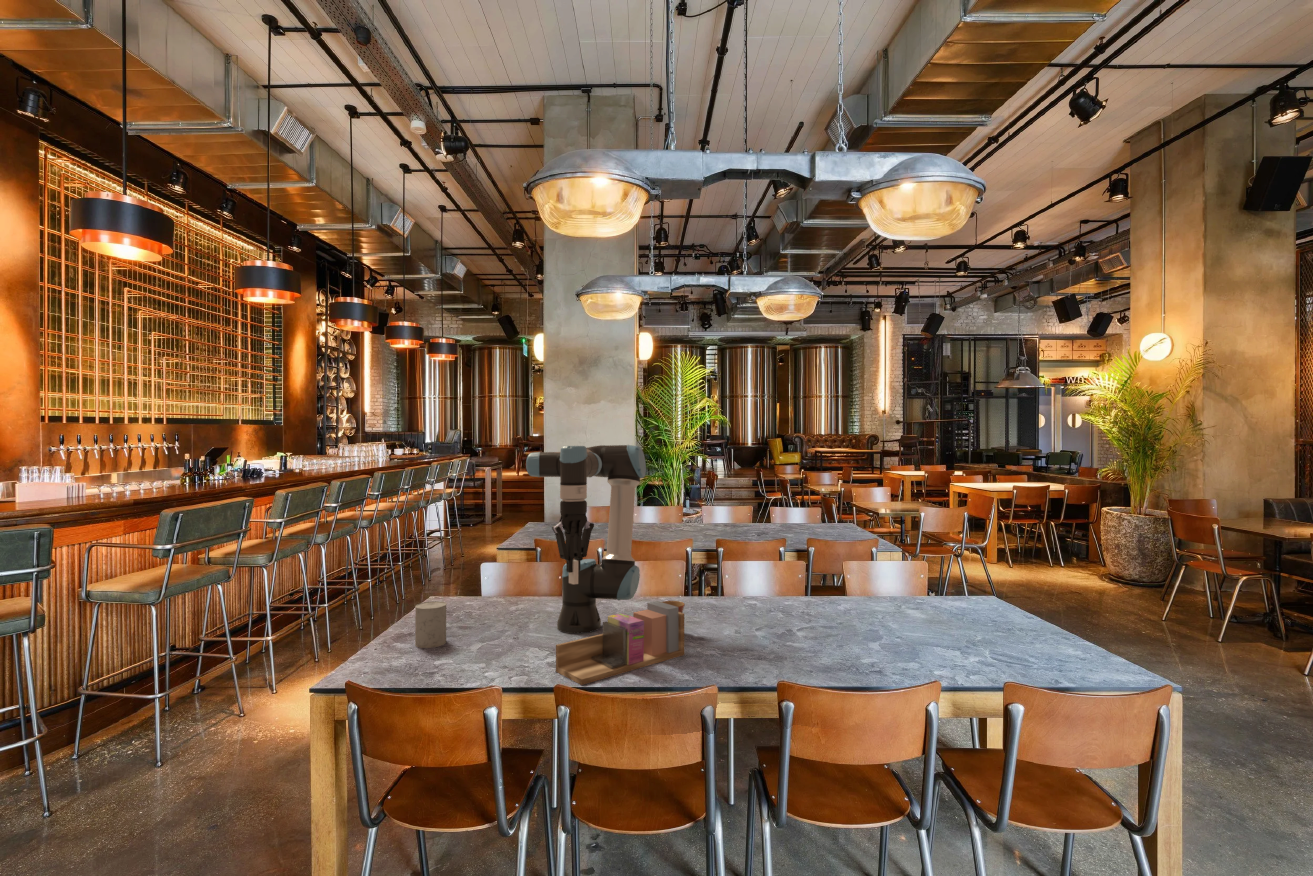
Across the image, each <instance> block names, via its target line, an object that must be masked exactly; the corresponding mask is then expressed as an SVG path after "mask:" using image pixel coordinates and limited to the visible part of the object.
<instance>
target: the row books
mask: <svg viewBox="0 0 1313 876" xmlns="http://www.w3.org/2000/svg"><path fill="white" fill-rule="evenodd" d="M646 606H647V607H646V608H647V609H643V610H639V611H634V612H632V614H633V615H632V617H635V618H638V619H640V620H643V621H644V653H645V654H648V655H650V656H655V655H658V654H662V653H666V652H667V653H671V652H674V651H678V650H679V624H678V607H676V606H673V605H669V604H666V603H663V601H659V600H655V601H650V602H647V604H646Z"/></svg>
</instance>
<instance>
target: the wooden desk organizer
mask: <svg viewBox="0 0 1313 876" xmlns="http://www.w3.org/2000/svg"><path fill="white" fill-rule="evenodd" d="M678 624H679V650H678V651H674V652H671V653H667V652H666V653H662V654H658V655H655V656H650V655H648V654H645V653H644V658H643V661H642V662H639V663H636V664H632V665H624V666H620V667H617V668H613V669H611V668H609V667H607V666H605V665H602V664H600V663H598V662H596V661H594V660H592V659H591V657H592V656H596V655H600V654H603V633H600V634H597V635H593V636H587V637H583V638H580V639H574V640H571V641H567V642H562V643H557V644H555V672H556V673H558V674H560V675H561V676H563V677H565V678H567V679H569V680H571V681H573V682H575V683H576V684H578V685H581V686H584V685H586V684H591V683H594V682H596V681H601V680H603V679H607V678H611V677H614V676H618V675H621V674H624V673H628V672H632V671H634V670H638V669H641V668H644V667H648V666H652V665H654V664H655V665H656V664H658V663H662V662H665V661H668V660H672V659H675V658H680V657H683V656H685V613H684V612H683V613H681V612H678Z"/></svg>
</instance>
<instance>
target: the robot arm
mask: <svg viewBox="0 0 1313 876" xmlns="http://www.w3.org/2000/svg"><path fill="white" fill-rule="evenodd" d="M525 462H526V463H525V468H526V472H527V474H528V476H530V477H536V478H560V479H559V480H560V483H559V486H560V489H559V498H560V499H561V501H560V503H559V505H560V506H559V513H560V518H559V521H558V522H559V523H557V524H556V525H552V526H551V530H552V531H553V533H554V536H555V539H556V544H557V550H558V554H559V558H560V559H562V560H565V561H566V563H565V564H564V565H563V567H562V575H561V578H562V579H561V581H562V585H561V586H562V589H561V590H562V591H561V592H562V594H561V597H562V600H561V601H562V605H561V609H560V612H559V615H558V618H557V622H556V623H557V624H556V629H557V630H558V631H560V632H563V633H567V634H586V633H587V634H588V633H592V632H595V631H596V632H597V631H598V630H599V629H601V626H602V619H601V616H600V613H599V610H598V607H597V600H611V601H612V600H615V601H616V600H617V601H630V600H631V599H633V598H634V596H635V595H636V594H637V590H638V587H639V584H640V576H641V575H640V573H641V572H640V567H639V566H638V565H636V560H635V559H634V558H633V556H632V545H633V544H632V543H633V529H634V527H633V526H634V513H635V496H636V489H637V487H638V486H639V485H640V483H641V479H643V478H645V477H646V472H647V466H646V465H647V464H646V458H645V453H644V451H643V449H642V448H641V447H640V446H639V445H630V444H626V445H625V444H622V445H621V444H619V445H617V444H616V445H614V444H611V445H604V444H603V445H602V444H601V445H595V446H594V445H593V446H589V447H586V446H585V445H563V446H561V447H560V451H549V452H548V451H546V452H545V451H543V452H542V451H538V452H537V451H535V452H530V453H529V454H528V455H527V457H526V461H525ZM593 477H597V478H607V483H608V484H609V485H610V487H611V488H610V501H609V513H608V514H609V515H608V526H607V527H608V528H607V529H608V530H607V542H606V543H607V544H606V553H605V555H604V556H603V557H601V564H599V563H597V560H596V559H594V558H586V557H587V555H588V552H589V551H588V549H589V545H590V542H591V541H590V540H591V535H592V531H593V530H594V527H595V523H594V522H591V521H589V520H588V517H587V511H588V506H587V505H588V501H587V500H586V499H587V497H588V496H587V495H588V493H587V490H588V478H593ZM563 531H564V532H563ZM584 558H585V559H584Z"/></svg>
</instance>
